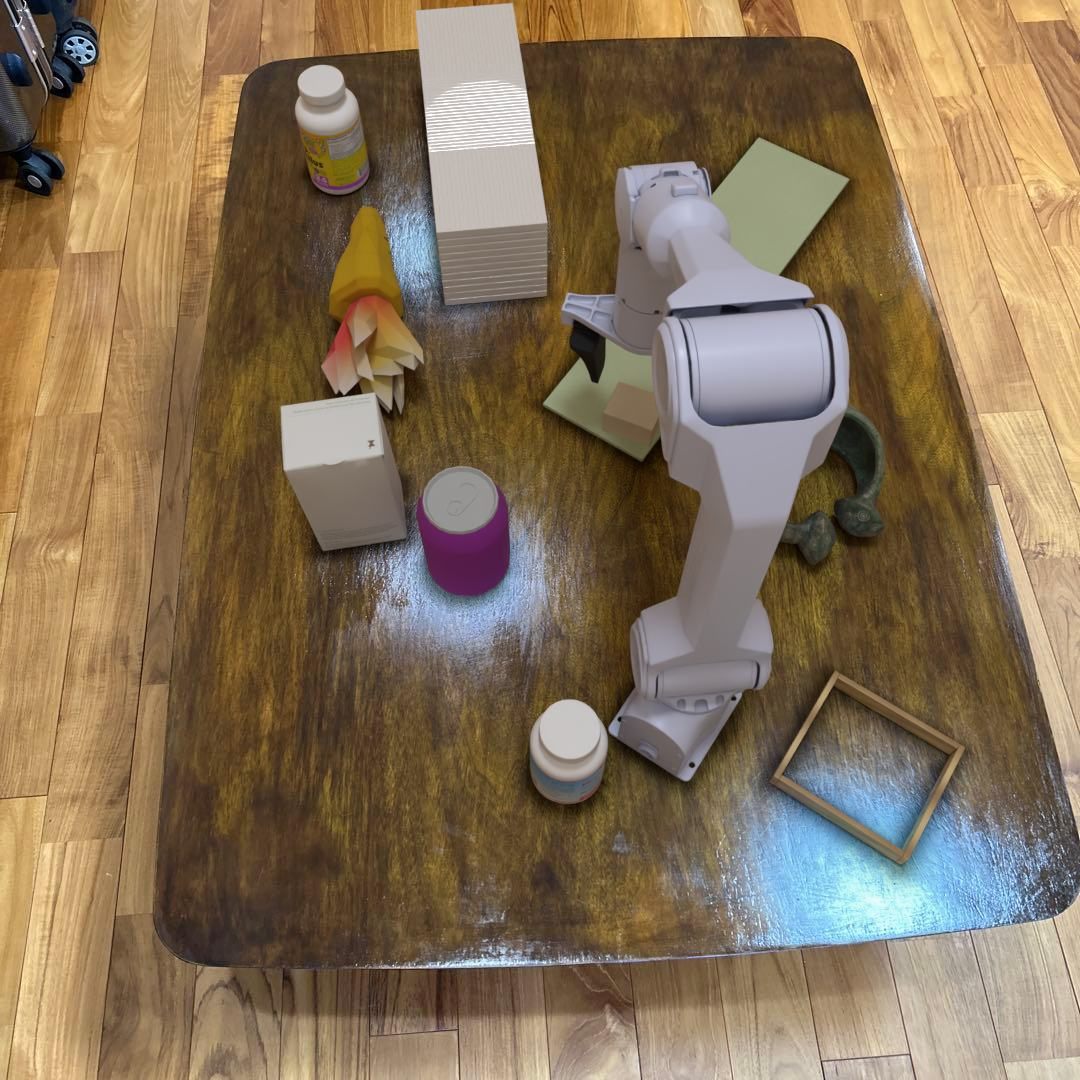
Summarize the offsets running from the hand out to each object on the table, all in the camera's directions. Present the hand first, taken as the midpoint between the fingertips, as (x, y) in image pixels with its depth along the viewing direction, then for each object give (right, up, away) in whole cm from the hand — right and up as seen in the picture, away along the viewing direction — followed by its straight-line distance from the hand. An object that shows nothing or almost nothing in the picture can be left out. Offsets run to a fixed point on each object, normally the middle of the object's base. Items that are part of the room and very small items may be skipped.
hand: (637, 384), depth 99 cm
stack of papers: (-15, +25, +20) cm, 36 cm away
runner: (+8, +12, +14) cm, 20 cm away
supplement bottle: (-31, +26, +21) cm, 46 cm away
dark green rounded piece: (+15, -10, +3) cm, 19 cm away
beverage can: (-15, -16, -1) cm, 23 cm away
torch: (-25, +8, +12) cm, 29 cm away
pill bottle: (-7, -34, -9) cm, 35 cm away
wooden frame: (+18, -33, -9) cm, 39 cm away
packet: (0, -3, +6) cm, 6 cm away
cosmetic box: (-26, -12, +2) cm, 29 cm away
